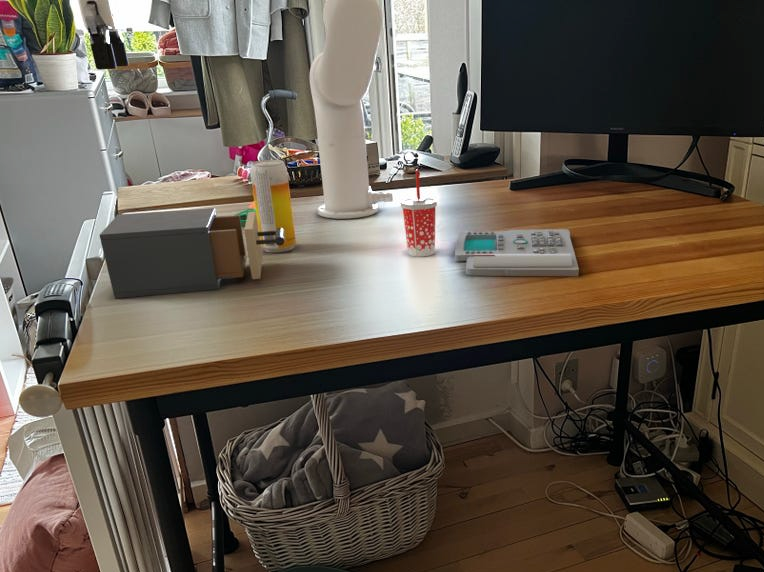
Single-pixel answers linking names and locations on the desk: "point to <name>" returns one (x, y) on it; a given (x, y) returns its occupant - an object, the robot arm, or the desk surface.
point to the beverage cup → (419, 223)
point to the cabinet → (160, 253)
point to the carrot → (246, 213)
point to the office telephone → (517, 253)
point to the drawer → (239, 245)
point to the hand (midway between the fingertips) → (113, 67)
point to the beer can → (273, 202)
